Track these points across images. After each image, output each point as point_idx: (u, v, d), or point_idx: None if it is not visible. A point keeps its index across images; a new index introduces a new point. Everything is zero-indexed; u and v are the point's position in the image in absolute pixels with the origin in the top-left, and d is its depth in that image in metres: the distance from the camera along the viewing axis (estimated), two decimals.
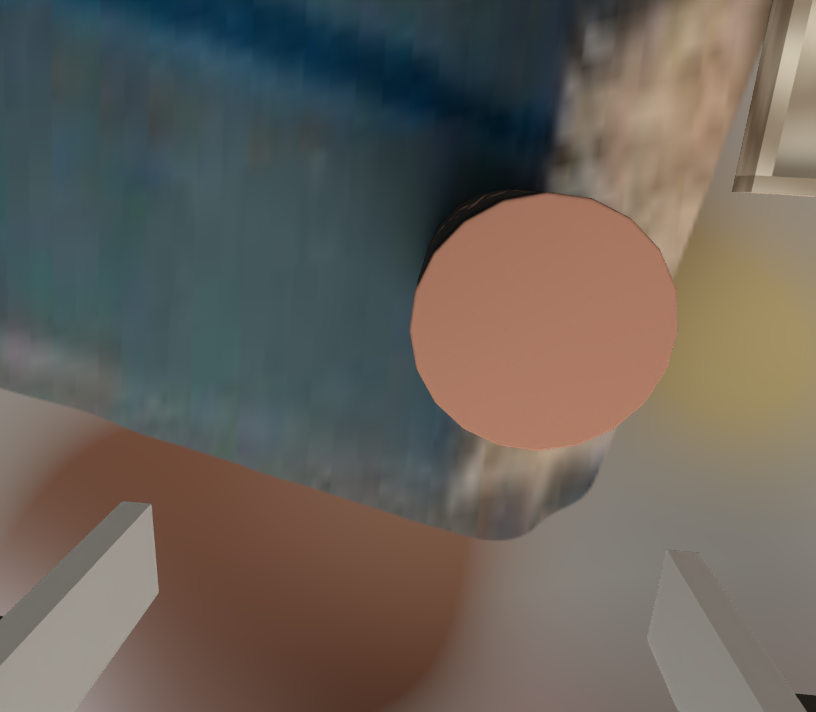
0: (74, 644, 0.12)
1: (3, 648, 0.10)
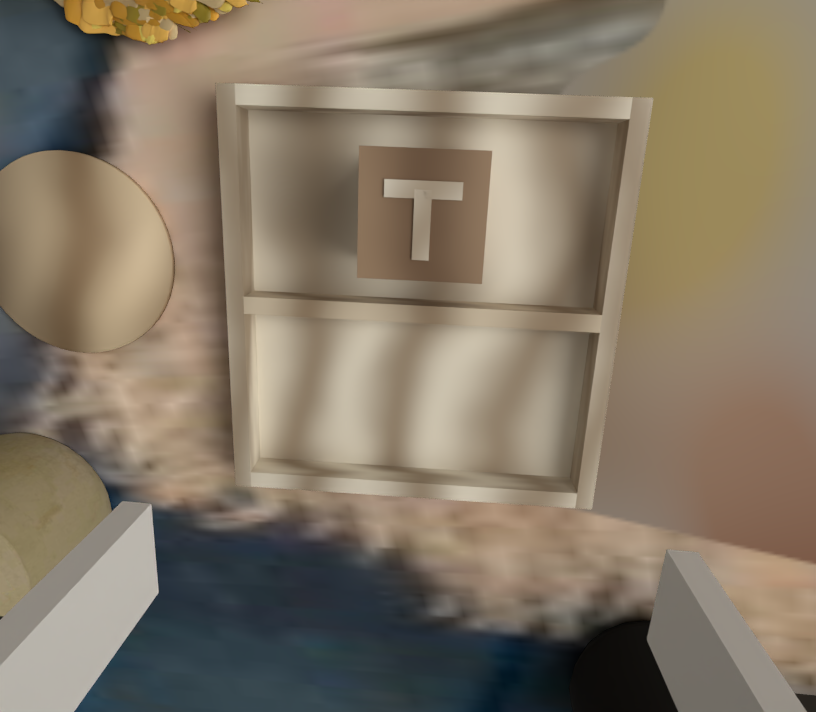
0: (74, 644, 0.12)
1: (3, 648, 0.10)
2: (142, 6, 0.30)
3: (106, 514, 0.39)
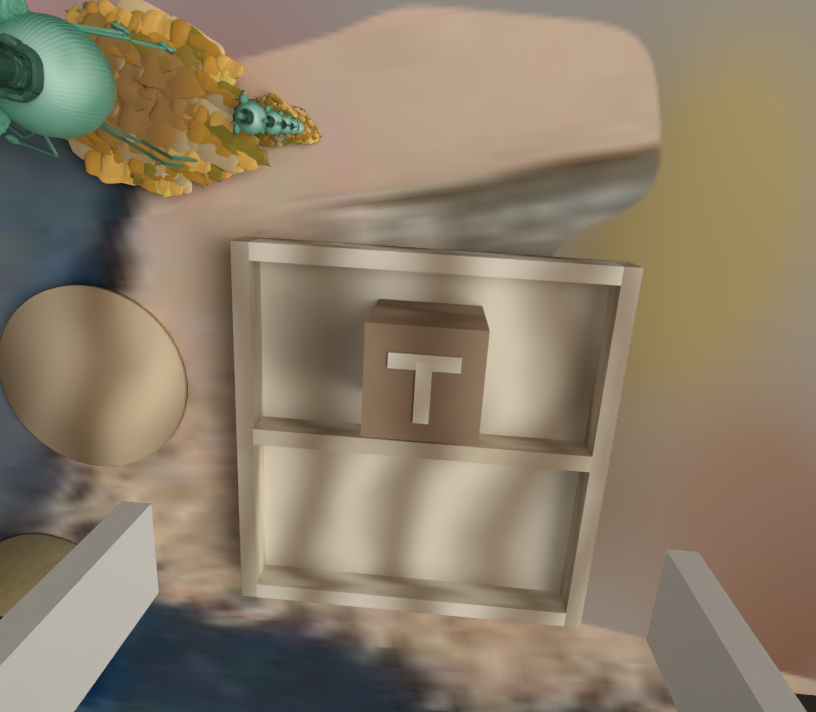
0: (74, 644, 0.12)
1: (3, 648, 0.10)
2: (159, 163, 0.31)
3: None
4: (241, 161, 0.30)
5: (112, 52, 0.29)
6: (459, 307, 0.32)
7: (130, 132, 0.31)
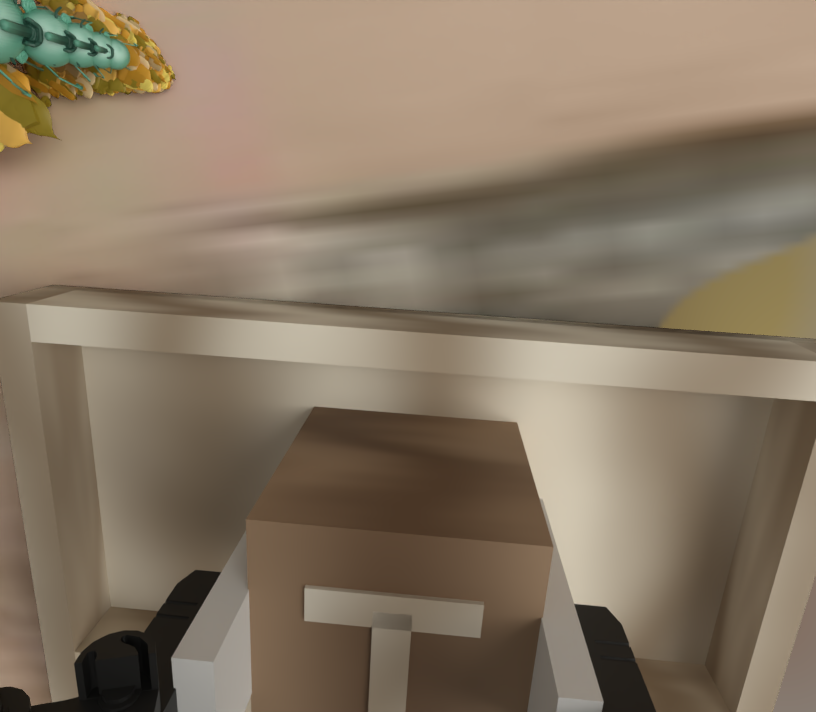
0: None
1: (237, 592, 0.12)
2: None
3: None
4: None
5: None
6: (472, 431, 0.16)
7: None
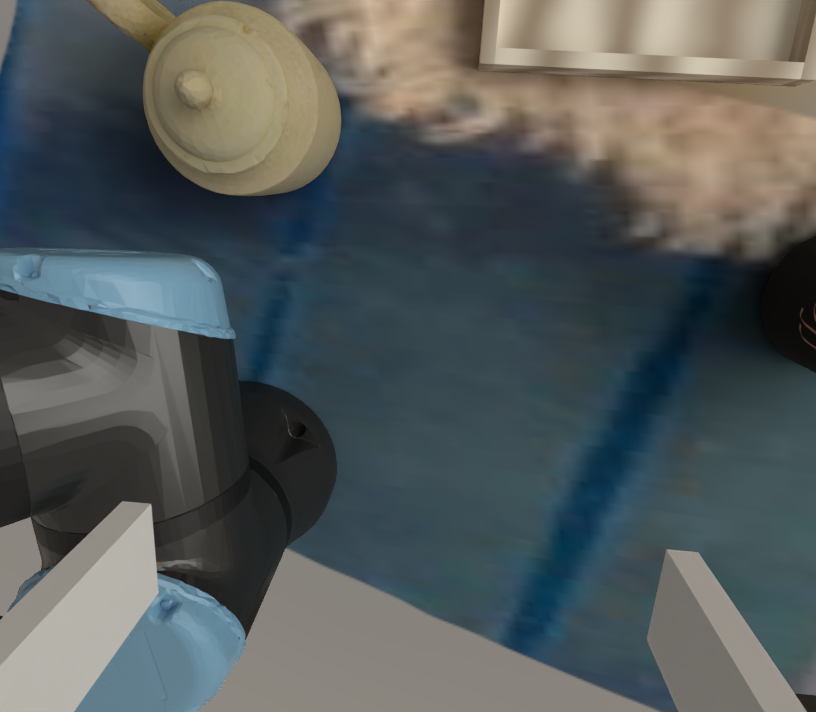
0: (74, 644, 0.12)
1: (3, 648, 0.10)
2: None
3: (340, 120, 0.42)
4: None
5: None
6: None
7: None
